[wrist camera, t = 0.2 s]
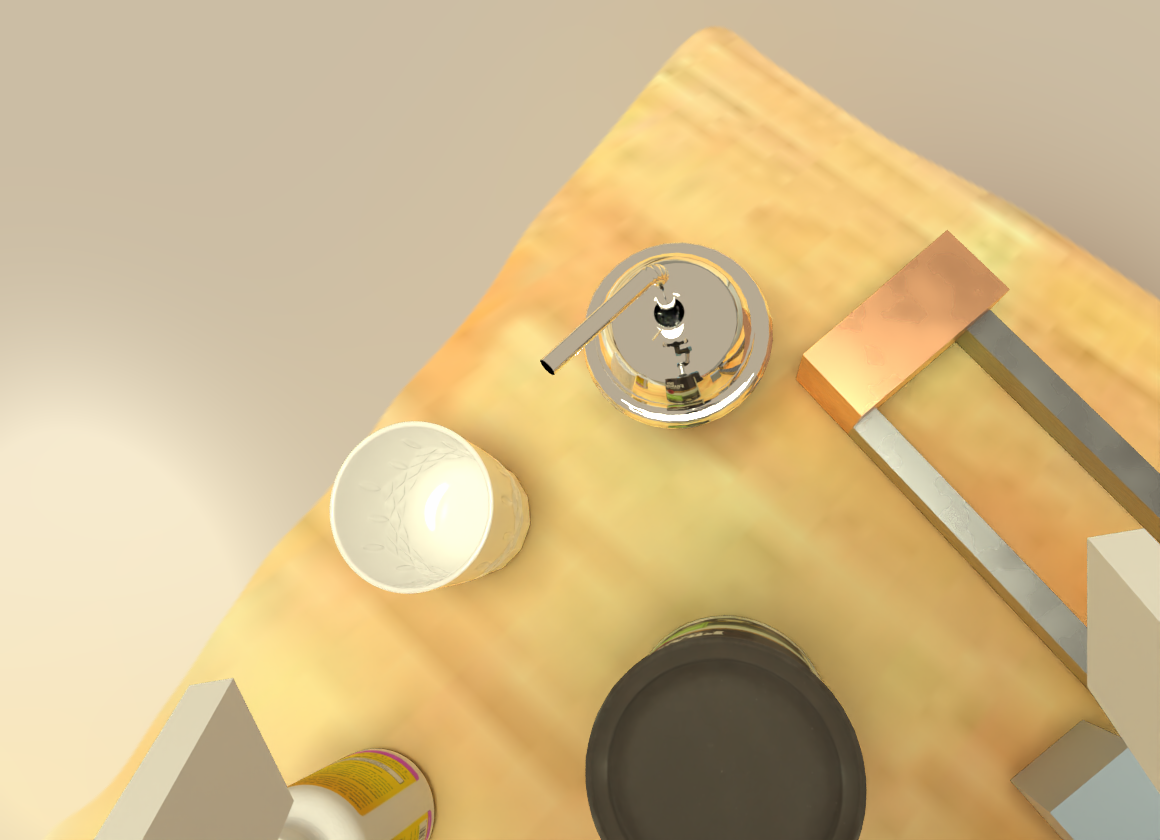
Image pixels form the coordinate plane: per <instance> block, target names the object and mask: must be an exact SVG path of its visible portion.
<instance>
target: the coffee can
mask: <svg viewBox="0 0 1160 840" xmlns="http://www.w3.org/2000/svg"><path fill="white" fill-rule="evenodd" d="M586 789H587V796H588V801H589V806H590V811H591V815H592V818H593V821H594V824H595V827H596V829H597V832H598V834H599V836H600V838H601V840H858V839H859V836H860V833H861V830H862V825H863V820H864V815H865V808H866V775H865V768H864V761H863V757H862V753H861V749H860V746H859V743H858V740H857V737H856V734H855V731H854V729H853V727H852V725H851V723H850V721H849V719H848V717H847V715H846V713H845V711H844V709H843V708H842V706H841V705H840V703H839V702H838V700H837V699H836V698H835V696H834V695H833V694H832V692H831V691H830V690H829V689H828V688H827V687H826V685H825V684H824V683H823V682H822V681H821V679H820V677H819V675H818V673H817V671H816V670H815V668H814V666H813V664H812V663H811V661H810V660H809V658H808V657H807V656H806V655H805V654H804V652H803V651H802V650H801V649H800V648H799V647H798V646H797V645H796V644H795V643H794V642H793V641H791V640H790V639H789V638H788V637H787V636H785V635H784V634H782V633H781V632H779V631H778V630H776V629H774V628H772V627H770V626H768V625H766V624H764V623H761V622H758V621H755V620H752V619H748V618H743V617H738V616H725V615H724V616H713V617H707V618H703V619H699V620H696V621H693V622H690V623H688V624H685V625H684V626H682V627H680V628H678V629H676V630H675V631H673V632H672V633H670V634H669V635H667V636H666V637H665V638H664V639H663V640H662V641H661V642H660V643H658V644H657V646H656V647H655V648H654V649H653V650H652V652H651V653H650V654H649V655H648V656H647V657H645V658H643V659H642V660H641V661H640V662H638V663H637V664H636V665H634V666H633V667H632V668H631V669H630V670H629V671H628V672H627V673H626V674H625V675H624V676H623V677H622V678H621V679H620V680H619V681H618V682H617V683H616V685H615V686H614V687H613V688H612V690H611V691H610V693H609V694H608V696H607V698H606V699H605V701H604V703H603V705H602V706H601V708H600V710H599V712H598V714H597V717H596V719H595V722H594V725H593V728H592V732H591V735H590V739H589V743H588V749H587V755H586Z"/></svg>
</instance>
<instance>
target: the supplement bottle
mask: <svg viewBox="0 0 1160 840" xmlns="http://www.w3.org/2000/svg"><path fill="white" fill-rule="evenodd" d="M287 788H288V790H289V792H290V794H291V796H292V798H293V800H294V802H293V804H292V807H291V809H290V812H289V814H288V817H287V819H286V822H285V824H284V827H283V829H282V832H281V834H280V837H279V839H278V840H429V838H430V835H431V832H432V828H433V823H434V802H433V797H432V793H431V790H430V787H429V785H428V782H427V780H426V778H425V777H424V775H423V774H422V772H421V771H420V770H419V769H418V767H417V766H416V765H415V764H414V763H413V762H411V761H410V760H409V759H407V758H406V757H404V756H403V755H401V754H399V753H396V752H394V751H390V750H386V749H366V750H362V751H359V752H356V753H353V754H351V755H349V756H347V757H345V758H343V759H341V760H339V761H337V762H335V763H333V764H331V765H329V766H327V767H325V768H323V769H321V770H319V771H317V772H315V773H313V774H311V775H309V776H307V777H305V778H303V779H301V780H300V781H298V782H296V783H294V784H292V785H290V786H288V787H287Z"/></svg>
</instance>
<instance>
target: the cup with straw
mask: <svg viewBox="0 0 1160 840" xmlns="http://www.w3.org/2000/svg"><path fill="white" fill-rule="evenodd" d="M772 341H773V337H772V320H771V316H770V312H769V308H768V304H767V302H766V300H765V298H764V296H763V293H762V291H761V289H760V287H759V286H758V285H757V284H756V282H755V281H754V280H753V278H752V277H751V276H750V274H749V273H748V272H747V271H746V270H745V269H744V268H743V267H741V266H740V265H739V264H738V263H737V262H736V261H735V260H733V259H732V258H730V257H728V256H727V255H725V254H723V253H721V252H719V251H718V250H715V249H712V248H709V247H706V246H703V245H699V244H691V243H683V242H681V243H665V244H661V245H657V246H653V247H649V248H646V249H644V250H641V251H639V252H637V253H635V254H633V255H631V256H629V257H628V258H626V259H625V260H623V261H622V262H621V263H619V264H618V265H616V266H615V267H614V268H613V269H612V270H611V271H610V273H609V274H608V275H607V276H606V277H605V278H604V279H603V280H602V282H601V283H600V285H599V286H598V288H597V289H596V291H595V292H594V294H593V297H592V299H591V301H590V304H589V306H588V309H587V313H586V318H585V320H584V321H583V322H582V323H581V324H580V325H579V326H578V327H576V328H575V329H574V330H573V331H572V332H571V333H570V334H569V335H568V336H567V337H565V338H564V339H563V340H562V341H561V342H560V343H559V344H558V345H557V346H556V347H554V348H553V349H552V350H551V351H550V352H549V353H548V354H547V355H546V356H544V357H543V358H542V359H541V360H540V362H541V364H542V366H543V367H544V368H545V369H546V370H547V371H548V372H549V373H550V374H552V375H555V374H556V373H557V372H558V371H559V370H560V369H561V368H562V367H563V366H564V365H566V364H567V363H568V362H569V361H570V360H571V359H572V358H573V357H574V356H575V355H577V354H578V353H579V352H580V351H581V350H582V349H583V350H584V355H585V360H586V365H587V368H588V370H589V372H590V375H591V377H592V379H593V382H594V383H595V385H596V386H597V388H598V389H599V390H600V392H601V393H602V395H603V396H604V397H605V398H606V399H607V400H608V401H609V402H610V403H611V404H612V405H613V406H614V407H615V408H616V409H617V410H619V411H620V412H622V413H624V414H625V415H627V416H628V417H630V418H631V419H634V420H636V421H639V422H641V423H644V424H647V425H649V426H655V427H661V428H666V429H680V428H691V427H695V426H700V425H704V424H707V423H709V422H712V421H714V420H716V419H719V418H721V417H723V416H725V415H726V414H728V413H729V412H730V411H732V410H733V409H735V408H736V407H738V406H739V405H740V404H741V403H742V402H743V401H744V400H745V399H746V398H747V397H748V396H749V395H750V394H751V393H752V392H753V390H754V389H755V387H756V385H757V384H758V382H759V381H760V379H761V378H762V376H763V374H764V371H765V369H766V366H767V364H768V361H769V358H770V352H771V347H772Z"/></svg>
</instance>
